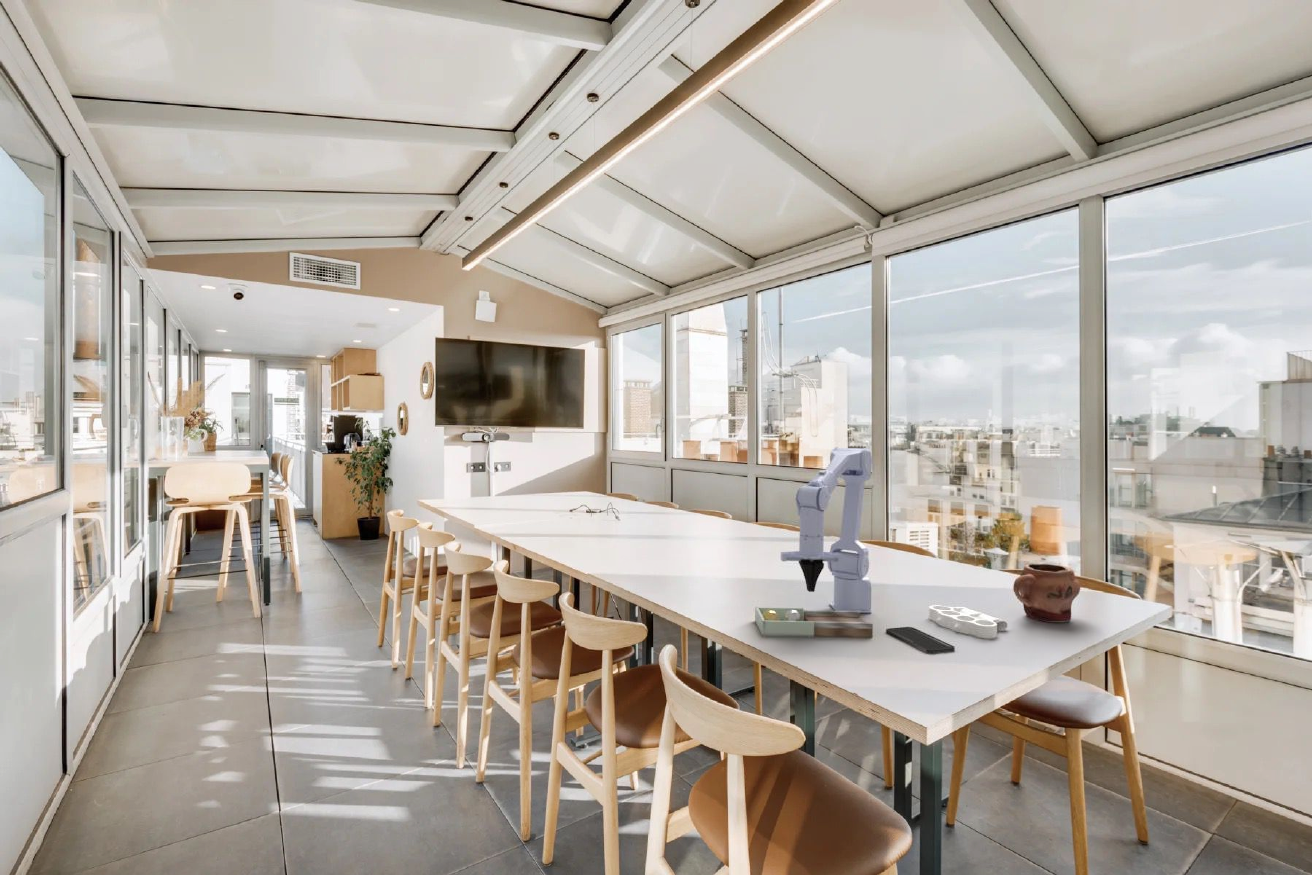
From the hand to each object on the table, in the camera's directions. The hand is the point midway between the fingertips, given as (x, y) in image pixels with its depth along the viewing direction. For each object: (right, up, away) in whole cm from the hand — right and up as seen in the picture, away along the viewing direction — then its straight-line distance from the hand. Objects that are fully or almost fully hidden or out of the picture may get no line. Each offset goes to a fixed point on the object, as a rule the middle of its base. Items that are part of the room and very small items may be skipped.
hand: (810, 590), depth 147 cm
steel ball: (-4, -7, 0) cm, 8 cm away
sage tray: (-7, -9, 0) cm, 11 cm away
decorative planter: (+64, -11, +11) cm, 66 cm away
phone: (+23, -10, -7) cm, 27 cm away
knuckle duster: (+40, -11, +4) cm, 42 cm away
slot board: (+6, -10, 0) cm, 11 cm away
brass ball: (-10, -7, 0) cm, 12 cm away
